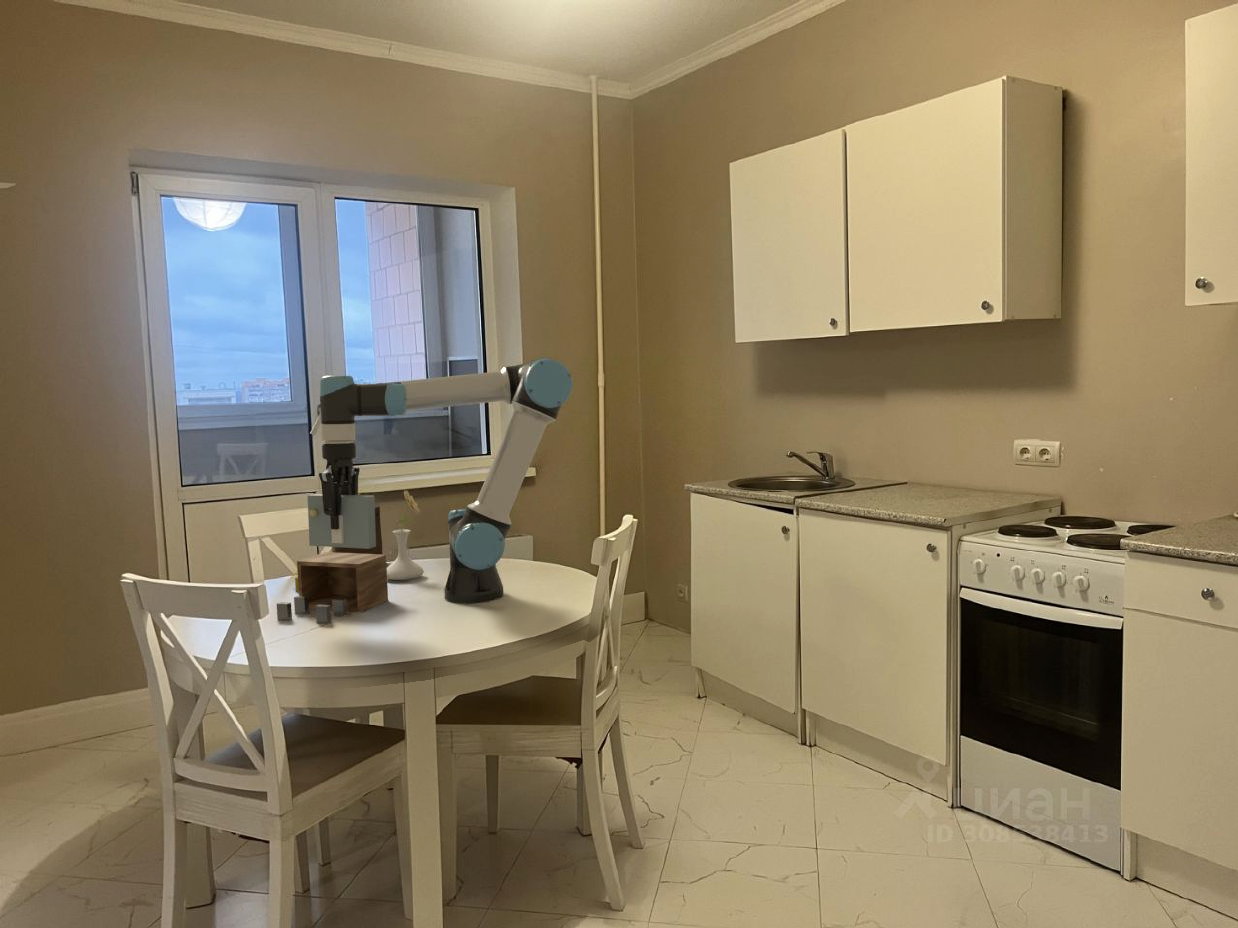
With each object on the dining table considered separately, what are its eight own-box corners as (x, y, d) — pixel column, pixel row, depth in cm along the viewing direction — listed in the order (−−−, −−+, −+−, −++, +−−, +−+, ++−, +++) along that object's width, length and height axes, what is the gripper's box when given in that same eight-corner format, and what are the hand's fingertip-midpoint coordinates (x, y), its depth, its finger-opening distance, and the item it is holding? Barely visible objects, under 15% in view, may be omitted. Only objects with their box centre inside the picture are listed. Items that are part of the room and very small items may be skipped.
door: (376, 546, 220) (374, 495, 218) (366, 549, 216) (364, 497, 214) (317, 543, 224) (315, 493, 223) (306, 546, 220) (304, 495, 219)
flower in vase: (411, 584, 260) (407, 494, 257) (375, 582, 263) (370, 493, 261) (434, 574, 272) (430, 488, 269) (399, 572, 275) (395, 488, 273)
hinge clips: (347, 614, 227) (346, 598, 227) (327, 623, 220) (326, 606, 219) (298, 611, 232) (297, 595, 231) (277, 619, 224) (276, 603, 224)
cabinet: (388, 600, 241) (385, 554, 240) (361, 612, 229) (358, 564, 228) (328, 596, 246) (326, 552, 245) (299, 608, 235) (296, 561, 234)
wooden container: (370, 558, 299) (367, 489, 297) (391, 564, 288) (387, 493, 285) (325, 564, 290) (321, 494, 287) (345, 572, 278) (341, 498, 276)
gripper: (344, 439, 227) (347, 535, 229) (303, 444, 212) (307, 546, 214) (371, 439, 225) (374, 536, 227) (332, 444, 209) (336, 548, 212)
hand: (342, 541), depth 220 cm, fingers closed on door, 3 cm apart
